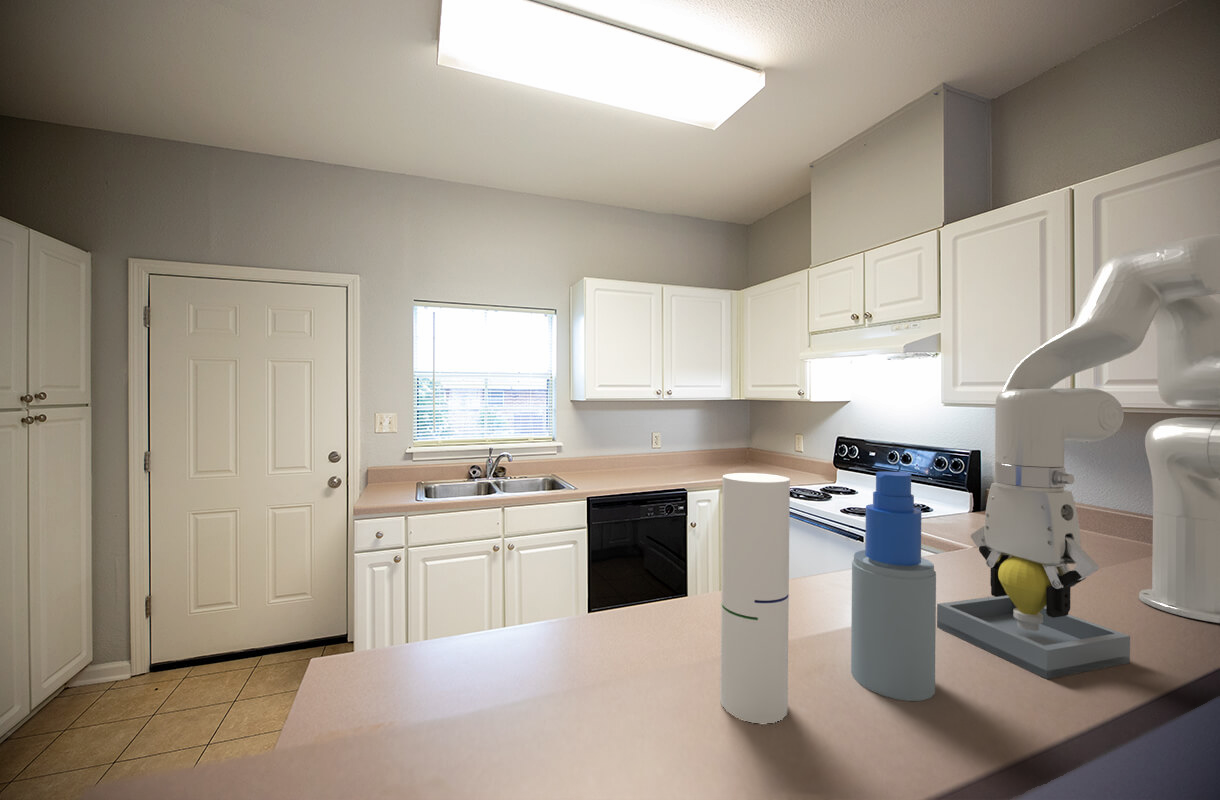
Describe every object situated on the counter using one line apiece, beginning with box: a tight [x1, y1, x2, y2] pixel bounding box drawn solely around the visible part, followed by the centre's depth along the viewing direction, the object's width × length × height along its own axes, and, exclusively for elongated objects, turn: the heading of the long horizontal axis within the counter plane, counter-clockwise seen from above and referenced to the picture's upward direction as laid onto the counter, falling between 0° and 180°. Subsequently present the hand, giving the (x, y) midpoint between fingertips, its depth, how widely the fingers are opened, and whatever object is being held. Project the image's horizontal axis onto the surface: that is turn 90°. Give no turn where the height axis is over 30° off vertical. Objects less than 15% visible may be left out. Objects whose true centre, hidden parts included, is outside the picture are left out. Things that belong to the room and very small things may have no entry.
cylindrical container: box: [719, 472, 791, 725], centre depth 57 cm, size 7×7×25 cm
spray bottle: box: [850, 471, 937, 702], centre depth 62 cm, size 9×9×25 cm
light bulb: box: [998, 556, 1052, 631], centre depth 72 cm, size 7×7×10 cm
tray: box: [936, 595, 1131, 680], centre depth 72 cm, size 15×15×4 cm
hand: (1027, 604), depth 72 cm, fingers closed on light bulb, 6 cm apart
